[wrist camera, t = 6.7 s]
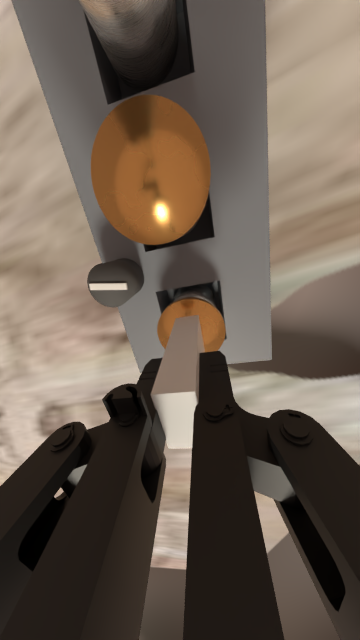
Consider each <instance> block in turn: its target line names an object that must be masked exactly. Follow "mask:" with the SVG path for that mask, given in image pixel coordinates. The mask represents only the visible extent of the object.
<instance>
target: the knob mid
mask: <svg viewBox="0 0 360 640" xmlns="http://www.w3.org/2000/svg"><path fill="white" fill-rule="evenodd" d="M210 177H211V169H210V158H209V153H208V149H207V145H206V142H205V139H204V137H203V134H202V132H201V131H200V129H199V127H198V125H197V124H196V122H195V121H194V119H193V118H192V117H191V116H190V115H189V113H188V112H187V111H186V110H185V109H183V108H182V107H181V106H180V105H178V104H177V103H175V102H173V101H172V100H170V99H167V98H165V97H162V96H157V95H140V96H135V97H132V98H130V99H127V100H125V101H124V102H122V103H120V104H119V105H118V106H116V107H115V108H114V109H113V110H112V111H111V112H110V113H109V114H108V116H107V117H106V118H105V120H104V121H103V123H102V124H101V126H100V128H99V130H98V132H97V135H96V138H95V141H94V144H93V149H92V154H91V179H92V185H93V190H94V193H95V196H96V199H97V202H98V204H99V206H100V209H101V210H102V212H103V214H104V215H105V217H106V218H107V220H108V221H109V222H110V224H111V225H112V226H113V227H114V228H115V229H116V230H117V231H119V232H120V233H121V234H122V235H124V236H125V237H127V238H129V239H131V240H133V241H135V242H138V243H142V244H147V245H158V244H165V243H169V242H172V241H174V240H177V239H178V238H180V237H182V236H184V235H186V234H188V233H189V232H190V231H191V230H192V229H193V228H194V227H195V226H196V224H197V223H198V221H199V218H200V216H201V214H202V212H203V209H204V207H205V204H206V201H207V198H208V193H209V187H210Z"/></svg>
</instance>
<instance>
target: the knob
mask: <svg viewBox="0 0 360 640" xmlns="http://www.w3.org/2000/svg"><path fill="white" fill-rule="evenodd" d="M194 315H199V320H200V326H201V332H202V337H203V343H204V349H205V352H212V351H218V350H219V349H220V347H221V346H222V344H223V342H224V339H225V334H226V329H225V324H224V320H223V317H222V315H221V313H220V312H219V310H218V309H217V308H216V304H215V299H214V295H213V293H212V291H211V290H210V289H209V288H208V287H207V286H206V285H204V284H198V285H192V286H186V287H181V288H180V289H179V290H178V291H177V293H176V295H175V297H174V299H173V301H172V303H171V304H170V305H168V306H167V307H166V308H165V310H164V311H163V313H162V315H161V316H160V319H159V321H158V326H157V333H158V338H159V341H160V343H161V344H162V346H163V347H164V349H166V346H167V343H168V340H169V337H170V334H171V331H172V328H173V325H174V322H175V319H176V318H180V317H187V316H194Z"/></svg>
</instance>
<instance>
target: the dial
mask: <svg viewBox="0 0 360 640" xmlns="http://www.w3.org/2000/svg"><path fill="white" fill-rule="evenodd" d="M87 283H88V288H89V291H90V293H91V295H92V296H93V297H94V299H95V300H96V301H97V302H99V303H100V304H102V305H104V306H107V307H119V306H121V305H123V304H124V303H126V302H127V301H128V300H129V299H130V298H132V297H133V296H134V295H135V294H136V293H138V292H139V291H140V290H141V288H142V287H143V284H144V274H143V271H142V269H141V267H140V266H139V265H138V264H137V263H136V262H134V261H133V260H130V259H127V258H122V259H118V260H114V261H110V262H106V263H101V264H98V265H96V266H94V267H93V268H92V269H91V271H90V272H89V275H88V280H87Z"/></svg>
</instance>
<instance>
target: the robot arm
mask: <svg viewBox="0 0 360 640" xmlns="http://www.w3.org/2000/svg"><path fill="white" fill-rule="evenodd" d="M102 400H103V403H104V405H105V407H106V409H107V411H108V413H109V415H110V417H111V418H110V420H109V422H107V423H105V424H102V425H100V426H97V427H94V428H91V429H88V430H87V429H86V427H85V426H84V424H82V423H81V422H72V423H69V424H66V425H64V426H62V427H61V428H59V429H57V430H56V431H55V432H54V433H53V434H51V435H50V436H49V437H48V438H47V439H46V440H45V441H44V442H43V443H42V444H41V445H40V446H39V447H38V448H37V449H36V451H35V452H34V453H33V454H32V455H31V456H30V457H29V458H28V459H27V460H26V461H25V462H24V463H23V464H22V465H21V466H20V467H19V468H18V469H17V470H16V471H15V472H14V473H13V474H12V475H11V476H10V477H9V478H8V479H7V480H6V481H5V482H4V483H3V484H2V485H1V486H0V640H139V635H140V628H141V621H142V615H143V609H144V603H145V596H146V589H147V583H148V577H149V571H150V564H151V558H152V551H153V545H154V538H155V532H156V526H157V519H158V513H159V506H160V500H161V494H162V487H163V481H164V474H165V468H166V458H165V455H164V453H163V452H164V446H165V440H166V442H167V445H168V448H169V449H177V448H192V464H191V485H190V505H189V526H188V547H187V568H186V589H185V611H184V632H183V640H284V636H283V632H282V626H281V621H280V616H279V612H278V607H277V602H276V597H275V592H274V587H273V582H272V578H271V572H270V567H269V563H268V558H267V553H266V548H265V543H264V538H263V533H262V528H261V523H260V519H259V514H258V509H257V504H256V499H255V494H254V491H256V492H258V493H260V494H263V495H265V496H268V497H270V498H273V499H274V501H275V503H276V505H277V507H278V510H279V512H280V514H281V516H282V518H283V520H284V522H285V524H286V526H287V528H288V531H289V533H290V535H291V537H292V539H293V541H294V543H295V545H296V547H297V549H298V552H299V554H300V556H301V558H302V560H303V562H304V564H305V566H306V568H307V570H308V573H309V575H310V577H311V579H312V581H313V583H314V585H315V587H316V589H317V591H318V593H319V595H320V598H321V600H322V602H323V604H324V606H325V608H326V610H327V612H328V615H329V616H330V619H331V621H332V623H333V625H334V627H335V629H336V631H337V633H338V636H339V638H340V640H360V466H359V465H358V464H357V463H356V462H355V461H354V460H353V459H352V457H351V456H350V455H349V454H348V453H347V452H346V451H345V450H344V449H343V448H342V447H341V446H340V445H339V444H338V443H337V442H336V441H335V440H334V438H333V437H332V436H331V435H330V434H329V433H328V432H327V431H326V430H325V429H324V428H323V427H322V426H321V425H320V424H319V423H318V422H317V421H315V420H314V419H313V418H312V417H310V416H308V415H306V414H304V413H302V412H299V411H294V410H289V409H288V410H279V411H277V412H275V413H273V414H272V415H271V416H270V418H266V417H261V416H257V415H254V414H251V413H248V412H246V411H245V410H243V409H242V408H241V407H239V406H238V404H237V403H236V402H235V399H234V397H233V392H232V387H231V382H230V377H229V372H228V367H227V362H226V357H225V355H224V354H223V353H222V352H221V351H212V352H205V349H204V343H203V337H202V332H201V326H200V320H199V315H194V316H187V317H180V318H176V319H175V322H174V325H173V328H172V331H171V334H170V337H169V340H168V343H167V346H166V349H165V352H164V355H163V358H156V359H151V360H150V361H149V362H148V363H147V364H146V365H145V367H144V369H143V371H142V374H141V375H140V378H139V380H138V382H137V384H124V385H121V386H118V387H116V388H114V389H113V390H111V391H110V392H109V393H107V395H106V396H105V397H104V398H103V399H102ZM60 487H61V488H62V489H63V491H64V492H63V493H62V494H61V495H60V496H58V497H56V498H55V497H54V495H55V494H56V493H57V491H58V490H59V489H60Z"/></svg>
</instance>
